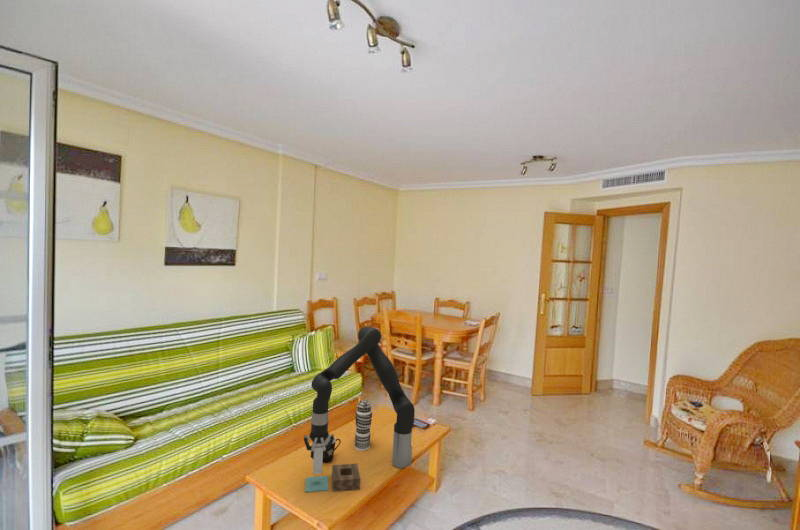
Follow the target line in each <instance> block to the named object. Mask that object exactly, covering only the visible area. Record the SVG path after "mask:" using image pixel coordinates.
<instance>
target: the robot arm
mask: <svg viewBox="0 0 800 530" xmlns="http://www.w3.org/2000/svg"><path fill="white" fill-rule="evenodd" d="M357 339H358V343H356V344H355V345H354V346H353V347H352V348H350V349H349V350H348V351H346V352H344V353H343V354H341V355H340V356H339V357H338V358H337V359H335V360H334V361H333V362H332V364H330V365H329V366H328V367H327V368H325V369H324V370H322V371H321V372H319V373H318V374H316V376H315V377H314V378H313V379H312V381H311V388H312V390H314V391H315V392H316V394H317V395H316V397H315V398H314V399H313V401H312V411H311V413H312V414H311V420H310V421H311V423H310V425H311V426H310V433H309V434H308V435H305V434H304V436H303V442H304V446H305V449H306V450H307V451H310V458H311V459H312V460H313V459H314V447H315V445H316V444H318V443H319V444H322V447H323V458H324V457H325V456H326V450H327V449H330V447H331V444H332V442H333V439H334V438H335V435H334V434H333V433H331V434H330V433H329V431H328V430H329V402H330V399H331V396H332V391H333V384H332V382H331V381H332V380H338V379H340V378H341V377H342V376H343V375H344V374H345V373H346V372H347V371H348V370H349V369H350V368H351V367H352V366H353V365H354V364H356V362H357V361H358V360H360V359H361V358H362V357H363V356H364V355H366V354H367V356H368V358H369V361H370V362H371V365H372V366H373V370H374V371H375V373H376V376H377V377H378V379H379V382H380V383H381V385H382V387H383V388H384V389H385V391H386V393H387V394H388V396H389V398H390V401H391V404H392V407H393V409H394V412H395V413H396V420H395V421H396V422H395V423H394V426H393V440H392V441H393V442H392V457H391V461H392V462H391V463H392V466H394V468H395V467H396V468H398V469H406V468H409V467H410V466H412V455H413V446H412V436H413V434H412V433H413V428H414V423H415V406H414V404H413V403H412V401H411V400H410V399H409V398H408V396H407V395H406V393H405V392H404V390H403V389H402V386H401V383H400V378H399V375H398V372H397V370H396V368H395V366H394V364H393V363H392V361H391V360H390V358H389V357H388V356H387V355H386V354H385V353H384V351H383V350H382V348H381V347H380V345H379V343H380V342H381V339H382V333H381V332H380V330H379V329H378V328H376V327H373V326H363V327H361V328H360V329H359V331H358V333H357ZM328 437H329V442H328V444H327V445H325V440H326V439H327V438H328ZM310 440H311V441H312V443H311V445H310V442H309V441H310Z"/></svg>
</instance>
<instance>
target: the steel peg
mask: <svg viewBox="0 0 800 530" xmlns="http://www.w3.org/2000/svg"><path fill="white" fill-rule="evenodd" d="M312 460H313V463H312V475H318V474H323V462H322V460H323V447H322V444H319V443H318V444H316V445H315V447H314V459H312Z"/></svg>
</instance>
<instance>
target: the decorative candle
mask: <svg viewBox="0 0 800 530" xmlns="http://www.w3.org/2000/svg"><path fill="white" fill-rule="evenodd" d="M372 405H373V404H372V403H371V402H370V401H369V400H365V399H362V400H359V402H357V403H356V411H355V416H354V417H355V433H354V449H355V450H358V451H359V452H361V451H362V452H363V451H367V450H369V449H370V447H371V435H372V434H371V426H372V420H373V419H372V418H373V416H372V415H373V412H372Z"/></svg>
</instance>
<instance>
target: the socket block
mask: <svg viewBox="0 0 800 530" xmlns="http://www.w3.org/2000/svg"><path fill="white" fill-rule="evenodd" d="M331 481H332V482H331V483H332V484H331V485H332V492H334V493H335V492H345V491H346V492H347V491H354V490H355V491H359V490H360V488H361V475H360V469H359V463H343V464H332V468H331Z"/></svg>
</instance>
